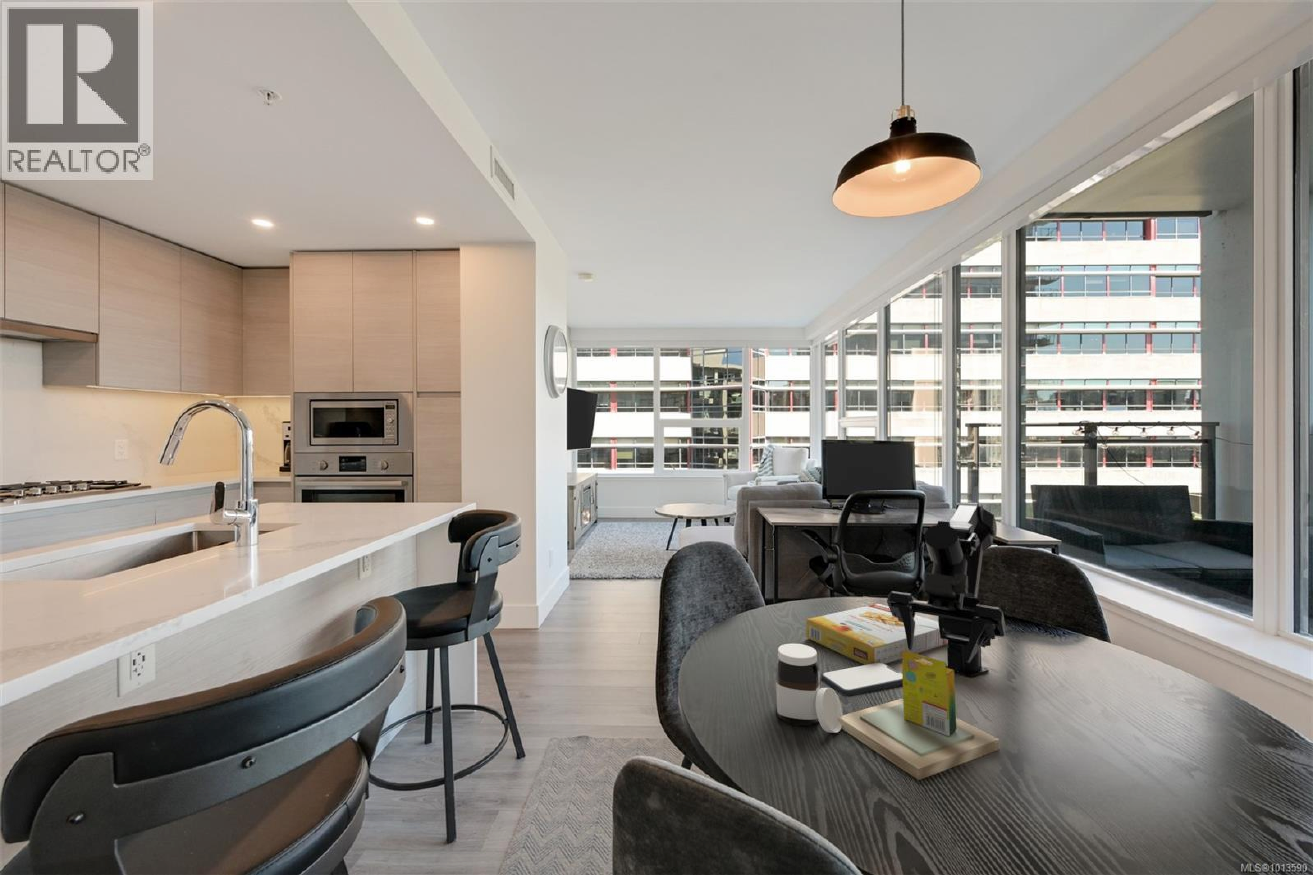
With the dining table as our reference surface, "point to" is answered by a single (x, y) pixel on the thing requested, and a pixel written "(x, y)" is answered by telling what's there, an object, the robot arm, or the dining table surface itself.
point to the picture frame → (916, 740)
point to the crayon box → (928, 693)
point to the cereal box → (872, 634)
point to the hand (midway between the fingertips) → (937, 655)
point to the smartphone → (863, 678)
